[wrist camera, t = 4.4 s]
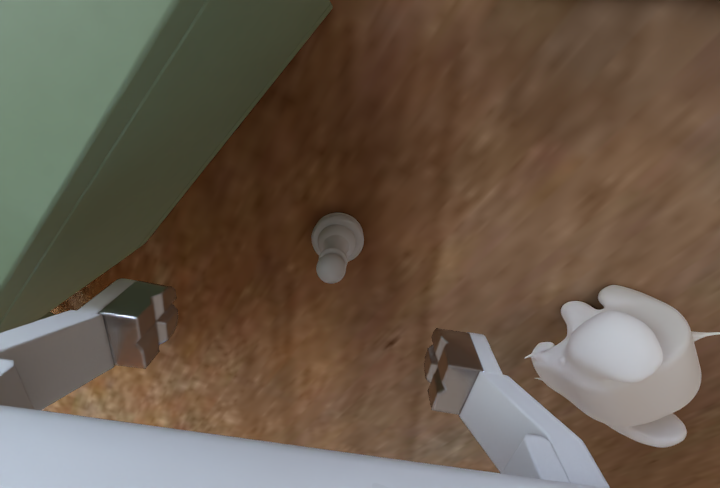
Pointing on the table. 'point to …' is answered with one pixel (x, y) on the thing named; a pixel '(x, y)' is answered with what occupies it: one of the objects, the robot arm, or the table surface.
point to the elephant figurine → (625, 364)
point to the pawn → (336, 245)
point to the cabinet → (118, 124)
